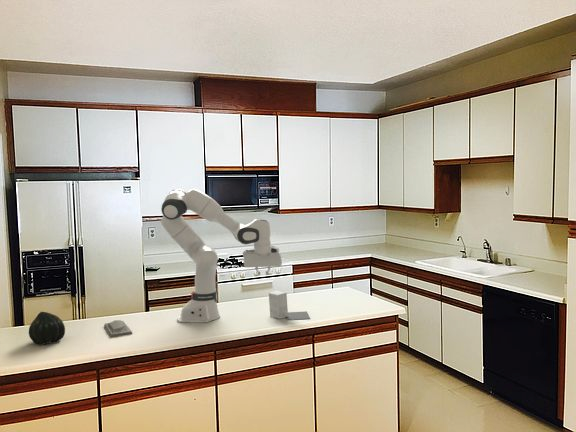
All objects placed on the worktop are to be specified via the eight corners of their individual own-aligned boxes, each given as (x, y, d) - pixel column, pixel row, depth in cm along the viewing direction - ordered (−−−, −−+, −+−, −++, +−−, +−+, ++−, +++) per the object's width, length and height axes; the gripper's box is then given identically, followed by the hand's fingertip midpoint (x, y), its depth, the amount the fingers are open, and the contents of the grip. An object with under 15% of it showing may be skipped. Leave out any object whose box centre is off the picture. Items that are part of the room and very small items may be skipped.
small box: (288, 316, 249) (286, 292, 248) (278, 319, 245) (277, 295, 244) (278, 313, 255) (277, 290, 254) (269, 316, 251) (268, 292, 250)
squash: (67, 332, 214) (61, 304, 221) (30, 340, 206) (26, 311, 213) (66, 345, 224) (61, 318, 231) (31, 354, 216) (26, 325, 223)
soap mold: (110, 339, 222) (110, 331, 222) (103, 327, 239) (103, 321, 239) (132, 335, 227) (132, 328, 227) (124, 324, 244) (124, 317, 244)
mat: (287, 320, 244) (287, 319, 243) (285, 313, 256) (285, 312, 256) (310, 319, 245) (310, 318, 245) (306, 311, 258) (306, 311, 258)
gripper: (242, 250, 242) (243, 276, 243) (281, 249, 244) (282, 275, 245) (242, 249, 248) (243, 274, 249) (280, 247, 250) (281, 272, 251)
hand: (263, 274), depth 247 cm, fingers open, 3 cm apart
